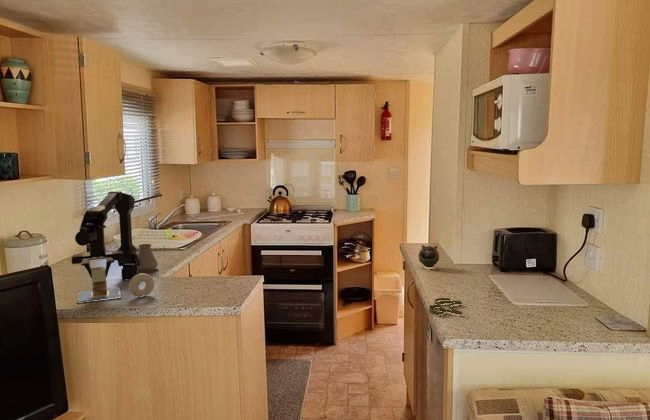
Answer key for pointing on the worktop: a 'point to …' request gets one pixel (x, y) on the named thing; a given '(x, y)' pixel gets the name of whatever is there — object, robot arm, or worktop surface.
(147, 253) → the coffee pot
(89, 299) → the board
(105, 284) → the walnut cube
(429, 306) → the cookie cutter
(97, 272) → the sage cube
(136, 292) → the donut
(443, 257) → the worktop surface
